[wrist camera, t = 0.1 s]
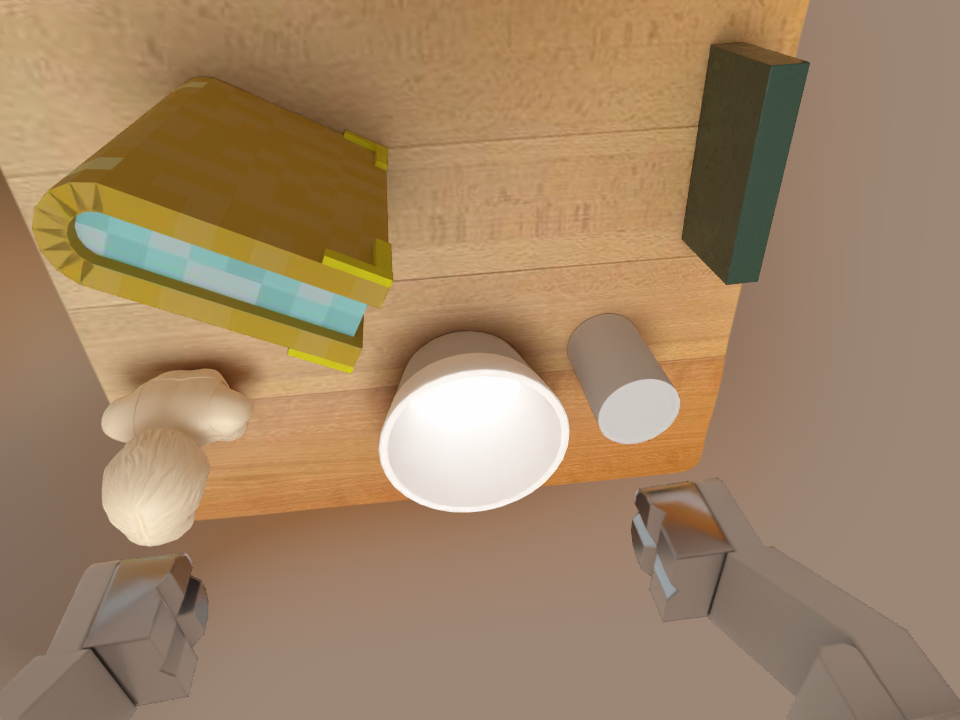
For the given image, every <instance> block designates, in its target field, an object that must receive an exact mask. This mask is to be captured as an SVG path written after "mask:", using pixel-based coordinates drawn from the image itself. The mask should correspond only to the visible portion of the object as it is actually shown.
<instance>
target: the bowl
mask: <svg viewBox="0 0 960 720" xmlns="http://www.w3.org/2000/svg"><path fill="white" fill-rule="evenodd" d="M569 432H570V428H569V422H568V416H567V414H566V411H565V409H564V407H563V405H562V403H561V401H560V400H559V399H558V398H557V396H556V395H555V394H554V393H553V392H552V390H551V389H550V388H549V387H548V386H547V385H546V384H545V383H544V381H543V380H542V379H541V378H540V377H539V376H538V375H537V374H536V373H535V372H534V371H533V370H532V369H531V368H530V366H529V365H528V364H527V363H526V362H525V361H524V360H523V359H522V357H521V356H520V355H519V354H518V353H517V352H516V351H515V350H514V349H513V347H511V346H510V345H509V344H508V343H506V342H505V341H504V340H502V339H500V338H498V337H496V336H494V335H490V334H487V333H483V332H476V331H461V332H454V333H450V334H446V335H443V336H440V337H438V338H436V339H433V340H431V341H430V342H428V343H427V344H425V345H424V346H422V347H421V348H420V349H419V350H418V351H417V352H416V353H415V354H414V355H413V356H412V358H411V359H410V361H409V362H408V364H407V366H406V368H405V371H404V373H403V376H402V378H401V381H400V384H399V386H398V389H397V391H396V394H395V397H394V399H393V401H392V404H391V406H390V409H389V411H388V414H387V417H386V419H385V422H384V425H383V427H382V430H381V433H380V438H379V446H378V450H379V457H380V463H381V465H382V467H383V470H384V472H385V474H386V476H387V477H388V479H389V480H390V481H391V483H392V484H393V485H394V487H395V488H396V489H398V490H399V491H400V492H401V493H402V494H404V495H405V496H406V497H408V498H410V499H412V500H413V501H415V502H417V503H419V504H421V505H424V506H427V507H430V508H434V509H437V510H443V511H449V512H475V511H485V510H489V509H493V508H498V507H501V506H504V505H507V504H509V503H512V502H515V501H517V500H519V499H521V498H523V497H524V496H526V495H528V494H530V493H532V492H533V491H534V490H535V489H537V488H538V487H539V486H541V485H542V484H543V483H545V482H546V481H547V479H548V478H549V477H550V476H551V475H552V474H553V473H554V472H555V471H556V469H557V467H558V466H559V464H560V463H561V461H562V459H563V458H564V455H565V452H566V449H567V446H568V441H569Z"/></svg>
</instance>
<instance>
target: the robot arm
mask: <svg viewBox="0 0 960 720" xmlns="http://www.w3.org/2000/svg"><path fill="white" fill-rule="evenodd" d="M635 505H636V507H637V509H638V511H639V512H638V514H637V515H636V516H635V517H634V518H633V519H632V528H631V534H632V542H633V548H634V551H635V555H636V558H637V560H638V563H639V565H640V568H641V569H642V570H643V571H645V572H646V573H648V574H649V575H650V576H651V583H650V589H649V590H650V592H651V595H652V597H653V600H654V602H655V604H656V607H657V609H658V612H659V614H660V616H661V619H662V621H663V622H668V621H675V620H683V619H691V618H699V617H707V616H709V620H711V621H712V622H713V623H714V624H715V625H716V626H717V627H718V628H719V629H721V630H722V631H723V632H724V633H725V634H726V635H727V636H728V637H730V638H731V639H732V640H733V641H734V642H735V643H736V644H737V645H738V646H740V647H741V648H742V649H743V650H744V651H745V652H746V653H747V654H748V655H750V656H751V657H752V658H753V659H754V660H755V661H756V662H757V663H759V664H760V665H761V666H762V667H763V668H764V669H765V670H766V671H767V672H769V673H770V674H771V675H772V676H773V677H774V678H775V679H777V680H778V681H779V682H780V683H781V684H782V685H783V686H784V687H785V688H787V689H788V690H789V691H790V692H791V693H792V694H793V695H794V696H795V699H794V701H793V703H792V705H791V707H790V709H789V711H788V714H787V715H786V717H785V719H784V720H960V699H959V698H958V697H957V696H956V694H955V693H954V692H953V690H952V689H951V688H950V686H949V685H948V684H947V683H946V681H945V680H944V679H943V677H942V676H941V674H940V673H939V672H938V670H937V669H936V668H935V666H934V665H933V664H932V662H931V661H930V660H929V658H928V657H927V656H926V654H925V653H924V652H923V650H922V649H921V648H920V646H919V645H918V644H917V642H916V641H915V640H914V638H913V637H912V636H911V634H910V633H909V632H908V630H906V629H904V628H903V627H901V626H900V625H898V624H897V623H895V622H893V621H891V620H890V619H889V618H887V617H885V616H884V615H882V614H881V613H879V612H877V611H876V610H874V609H873V608H871V607H869V606H868V605H866V604H864V603H863V602H861V601H859V600H858V599H856V598H855V597H853V596H852V595H850V594H848V593H847V592H845V591H844V590H842V589H840V588H839V587H837V586H836V585H834V584H832V583H831V582H829V581H828V580H826V579H824V578H823V577H821V576H820V575H818V574H816V573H815V572H813V571H812V570H810V569H808V568H807V567H805V566H803V565H802V564H800V563H799V562H797V561H795V560H794V559H792V558H790V557H789V556H787V555H786V554H784V553H783V552H781V551H779V550H778V549H776V548H775V547H773V546H772V547H764V545H763V544H762V542H761V540H760V539H759V537H758V536H757V534H756V533H755V531H754V529H753V528H752V526H751V525H750V523H749V522H748V520H747V518H746V517H745V515H744V514H743V512H742V510H741V509H740V507H739V506H738V504H737V503H736V501H735V499H734V498H733V496H732V495H731V494H730V492H729V490H728V488H727V487H726V485H725V484H724V482H723V481H722V480H721V479H719V478H718V477H717V478H710V479H703V480H696V481H691V482H689V481H686V482H679V483H672V484H666V485H659V486H652V487H647V488H640V489H639V490H638V491H637V493H636V497H635ZM192 568H193V563H192V561H191V560H190V558H189V556H188V555H187V553H179V554H170V555H161V556H152V557H143V558H135V559H126V560H119V561H111V562H103V563H95V564H92V565H91V566H90V567H89V568H88V569H87V570H86V571H85V572H84V574H83V576H82V578H81V580H80V582H79V584H78V586H77V589H76V591H75V593H74V595H73V598H72V599H71V602H70V604H69V606H68V608H67V610H66V612H65V615H64V617H63V619H62V621H61V623H60V625H59V627H58V629H57V632H56V634H55V636H54V638H53V640H52V643H51V645H50V647H49V649H48V651H47V653H46V655H41V656H36V657H35V658H34V659H33V660H32V661H31V662H30V663H28V664H27V665H26V666H25V667H24V668H23V669H22V670H21V671H20V672H19V673H18V674H16V675H15V676H14V677H13V678H12V679H11V680H10V681H9V682H8V683H7V684H6V685H4V686H3V687H2V688H1V689H0V720H129V719H130V718H131V717H132V715H133V714H134V713H135V711H136V710H137V708H136V706H141V705H146V704H152V703H157V702H163V701H168V700H174V699H179V698H185V697H188V696H189V693H190V689H191V685H192V680H193V677H194V673H195V669H196V665H197V661H198V657H197V655H196V654H195V652H194V650H193V648H192V647H193V646H194V645H195V644H196V642H197V641H198V640H199V639H200V638H201V637H202V636H203V635H204V633H205V629H206V624H207V620H208V597H207V593H206V589H205V586H204V584H203V582H202V581H201V580H200V579H198V578H196V577H194V576H192V575H191V571H192Z"/></svg>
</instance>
